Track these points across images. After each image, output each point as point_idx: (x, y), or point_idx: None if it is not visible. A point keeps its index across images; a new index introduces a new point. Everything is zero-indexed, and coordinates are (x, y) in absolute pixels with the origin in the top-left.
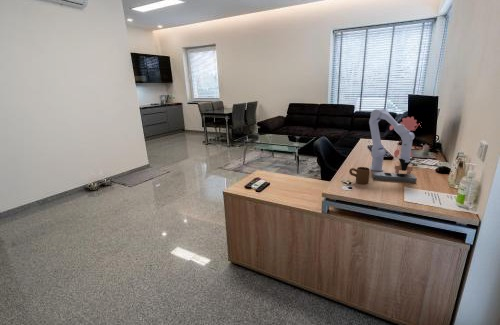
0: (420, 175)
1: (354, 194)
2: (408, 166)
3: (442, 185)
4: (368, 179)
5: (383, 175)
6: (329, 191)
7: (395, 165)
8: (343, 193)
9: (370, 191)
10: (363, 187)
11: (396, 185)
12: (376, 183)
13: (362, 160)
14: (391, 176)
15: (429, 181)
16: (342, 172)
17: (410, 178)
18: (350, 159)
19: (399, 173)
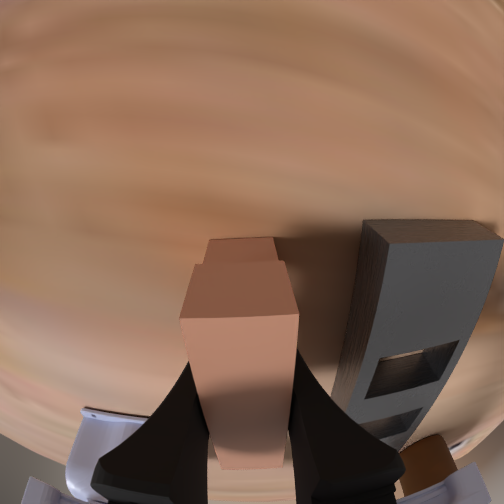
0: (170, 90)
1: (497, 420)
2: (291, 377)
3: (476, 12)
4: (444, 449)
5: (403, 437)
6: (461, 456)
7: (257, 464)
8: (482, 436)
9: (498, 402)
10: (464, 427)
11: (486, 346)
12: (440, 416)
13: (23, 430)
14: (430, 406)
15: (413, 58)
16: (283, 499)
17: (484, 290)
18: (50, 458)
19: (358, 379)
